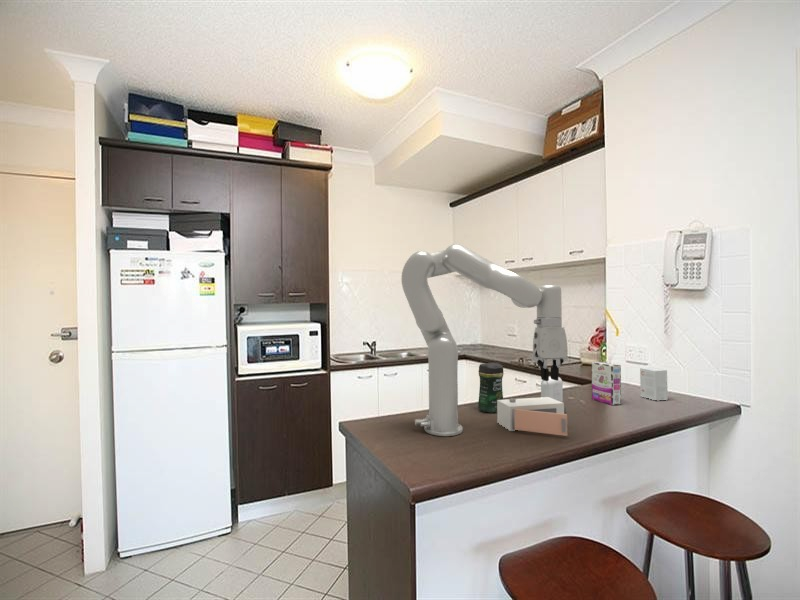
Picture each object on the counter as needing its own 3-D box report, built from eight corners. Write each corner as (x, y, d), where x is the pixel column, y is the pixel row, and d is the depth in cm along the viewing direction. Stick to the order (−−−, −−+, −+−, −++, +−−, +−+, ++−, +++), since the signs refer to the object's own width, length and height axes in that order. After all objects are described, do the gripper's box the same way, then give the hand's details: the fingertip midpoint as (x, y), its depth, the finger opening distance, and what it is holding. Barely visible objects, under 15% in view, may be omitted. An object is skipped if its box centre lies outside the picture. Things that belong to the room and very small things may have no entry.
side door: (511, 430, 124) (511, 409, 124) (512, 428, 125) (512, 408, 125) (567, 436, 117) (567, 415, 117) (567, 435, 119) (567, 414, 119)
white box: (510, 431, 125) (509, 403, 125) (497, 422, 134) (497, 397, 134) (569, 426, 129) (569, 399, 130) (553, 418, 138) (553, 393, 139)
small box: (668, 400, 164) (667, 370, 164) (655, 401, 162) (655, 370, 162) (651, 396, 172) (651, 367, 172) (640, 397, 170) (639, 367, 170)
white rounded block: (555, 404, 159) (554, 374, 159) (564, 406, 155) (564, 375, 156) (539, 407, 153) (539, 377, 154) (548, 410, 150) (548, 378, 150)
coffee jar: (489, 414, 144) (488, 365, 145) (475, 409, 151) (474, 362, 151) (507, 410, 149) (507, 363, 149) (493, 406, 156) (492, 360, 156)
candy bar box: (622, 404, 157) (621, 364, 158) (612, 405, 156) (612, 365, 156) (600, 398, 168) (599, 361, 168) (591, 399, 166) (590, 361, 167)
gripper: (532, 324, 118) (533, 383, 118) (578, 323, 122) (579, 381, 121) (520, 323, 126) (520, 378, 125) (564, 322, 129) (564, 376, 129)
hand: (549, 379), depth 123 cm, fingers open, 2 cm apart
